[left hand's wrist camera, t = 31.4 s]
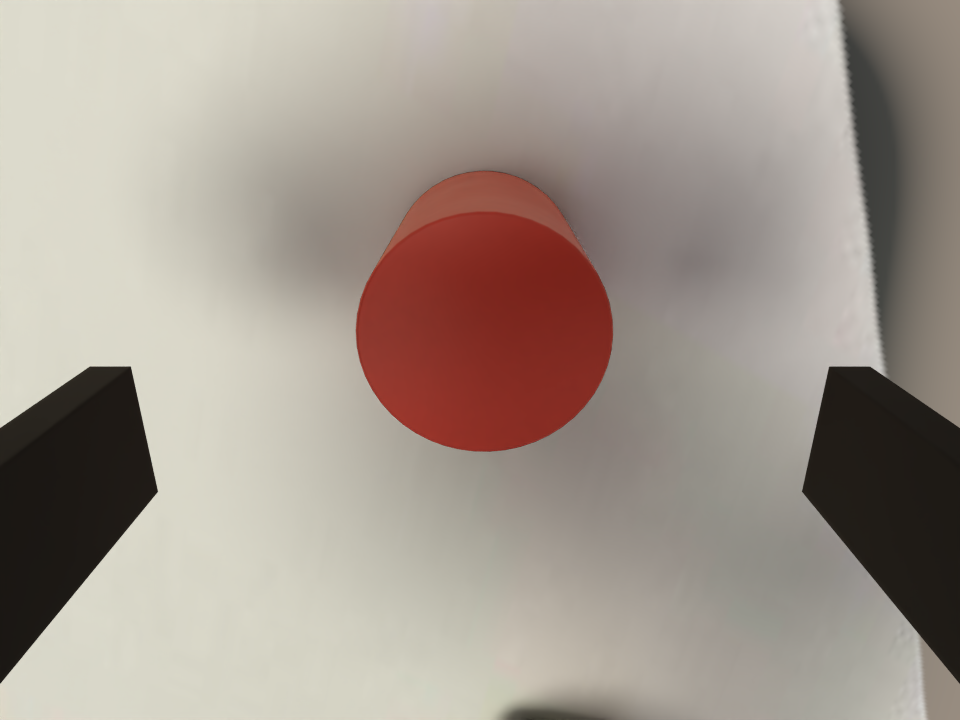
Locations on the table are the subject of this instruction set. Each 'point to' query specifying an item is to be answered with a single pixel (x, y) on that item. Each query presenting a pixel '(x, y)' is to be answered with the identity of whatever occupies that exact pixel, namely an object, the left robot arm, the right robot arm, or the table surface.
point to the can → (484, 317)
